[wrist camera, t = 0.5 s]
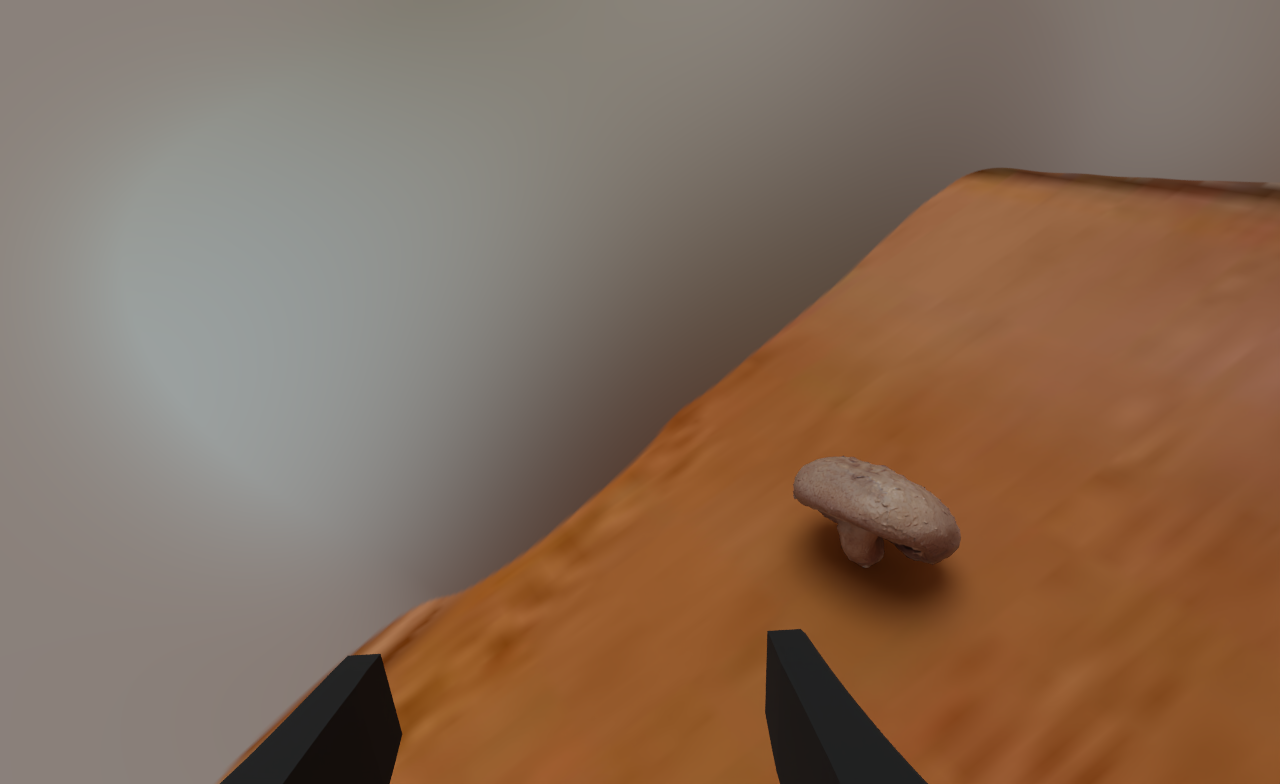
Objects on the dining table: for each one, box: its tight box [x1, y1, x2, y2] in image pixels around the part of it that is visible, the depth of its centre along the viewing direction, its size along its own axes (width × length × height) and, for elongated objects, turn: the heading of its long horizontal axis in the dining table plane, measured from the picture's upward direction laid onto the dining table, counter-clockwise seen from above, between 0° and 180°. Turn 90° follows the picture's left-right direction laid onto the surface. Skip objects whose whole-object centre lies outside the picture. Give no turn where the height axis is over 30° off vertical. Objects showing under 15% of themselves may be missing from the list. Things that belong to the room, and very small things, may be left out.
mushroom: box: [793, 456, 961, 568], centre depth 31 cm, size 8×6×8 cm
